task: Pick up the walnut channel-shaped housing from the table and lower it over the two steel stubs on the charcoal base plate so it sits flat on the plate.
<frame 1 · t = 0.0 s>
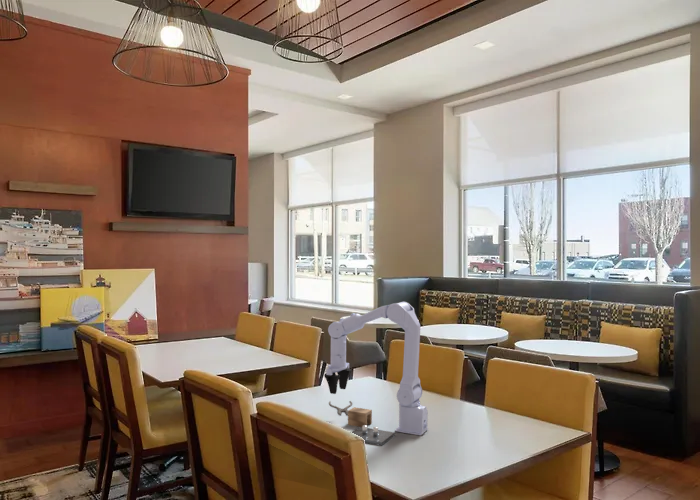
hand: (338, 391, 198), 10 cm above the table, tool pointing down, fingers open, 7 cm apart
pliers: (345, 409, 212), on the table
housing: (359, 424, 191), on the table
base plate: (370, 437, 177), on the table
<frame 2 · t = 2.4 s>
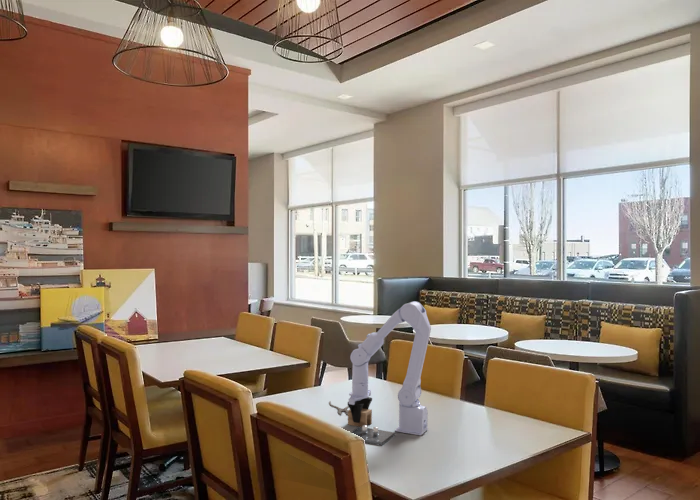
hand: (359, 420, 191), 1 cm above the table, tool pointing down, fingers closed on housing, 5 cm apart
housing: (359, 424, 191), on the table, touching gripper
everything else where it was.
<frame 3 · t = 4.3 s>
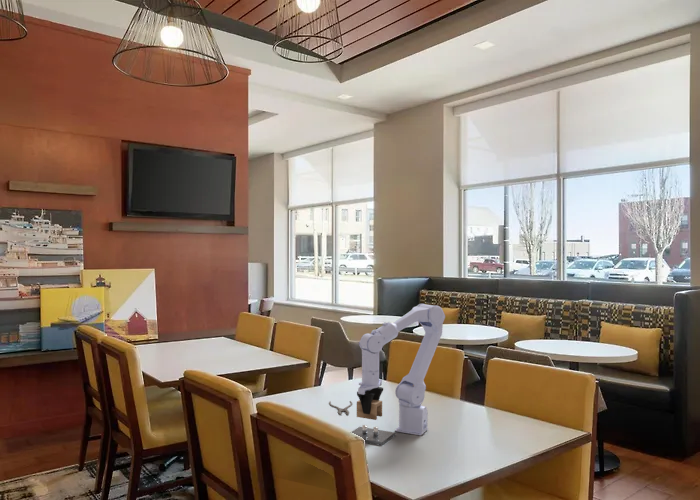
hand: (370, 411, 178), 8 cm above the table, tool pointing down, fingers closed on housing, 5 cm apart
housing: (369, 416, 178), point 7 cm above the table, touching gripper
everything else where it was.
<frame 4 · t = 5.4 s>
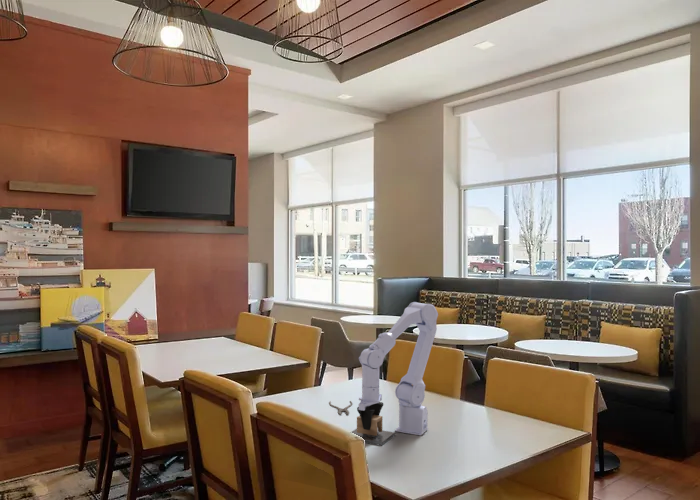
hand: (370, 426, 177), 3 cm above the table, tool pointing down, fingers closed on housing, 5 cm apart
housing: (369, 431, 178), point 2 cm above the table, touching gripper
everything else where it was.
when the fingers open (3 cm above the table, at t = 6.2 s): housing stays where it is, resting on base plate.
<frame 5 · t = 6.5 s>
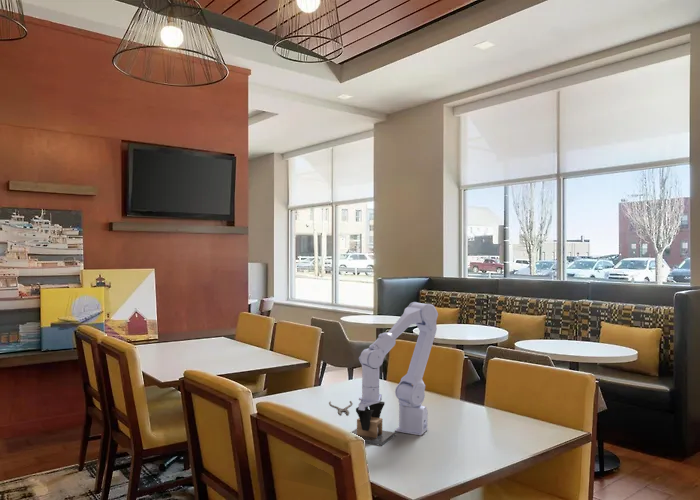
hand: (370, 426, 177), 3 cm above the table, tool pointing down, fingers open, 7 cm apart
housing: (369, 434, 177), point 1 cm above the table, touching base plate
everything else where it was.
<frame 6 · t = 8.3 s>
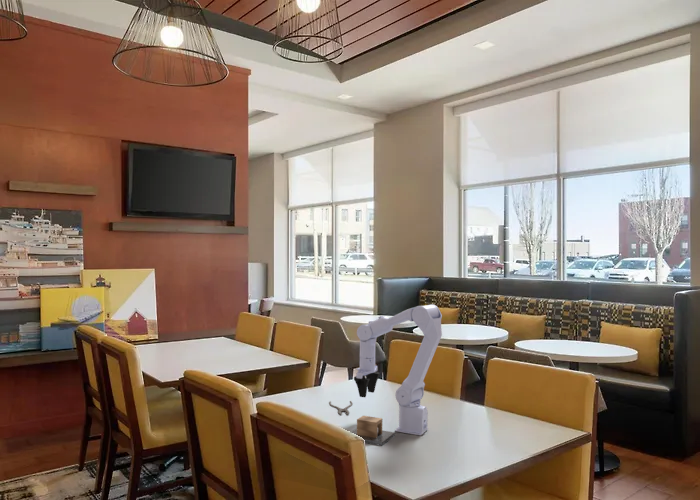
hand: (367, 394, 196), 9 cm above the table, tool pointing down, fingers open, 7 cm apart
nothing on the table moved.
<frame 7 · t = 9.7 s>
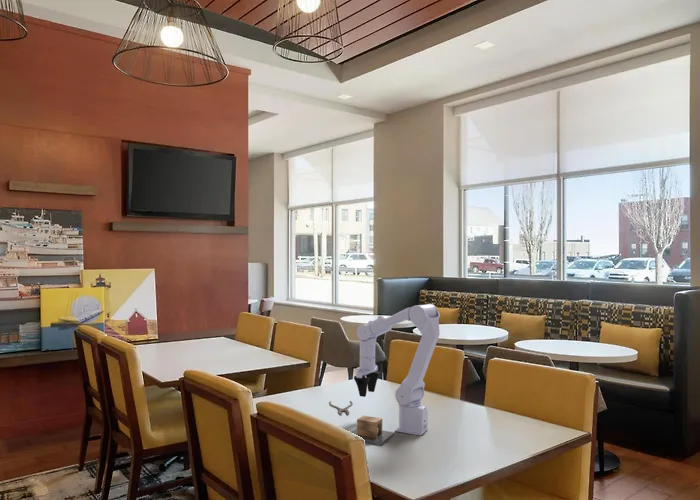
hand: (367, 393, 197), 9 cm above the table, tool pointing down, fingers open, 7 cm apart
nothing on the table moved.
at the end: housing 0.2 cm off-centre on the base plate, point 1.0 cm above the base plate's base; housing tilted 0°; the gripper is holding nothing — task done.
